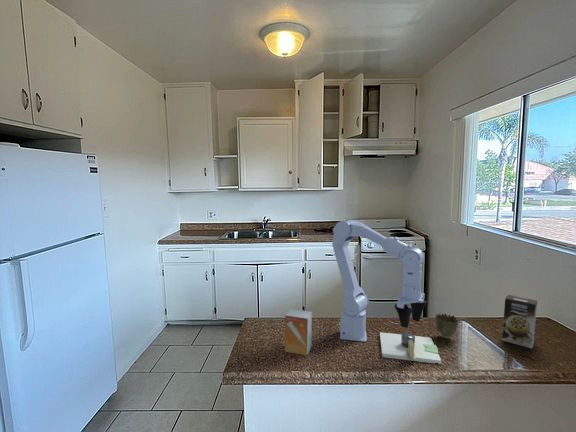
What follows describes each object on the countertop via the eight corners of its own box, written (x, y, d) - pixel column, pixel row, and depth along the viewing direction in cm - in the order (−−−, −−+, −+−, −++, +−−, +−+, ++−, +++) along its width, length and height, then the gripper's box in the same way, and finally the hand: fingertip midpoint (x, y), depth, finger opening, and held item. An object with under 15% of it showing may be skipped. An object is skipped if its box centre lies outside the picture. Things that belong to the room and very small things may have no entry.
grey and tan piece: (400, 340, 112) (400, 329, 112) (413, 342, 111) (414, 331, 111) (404, 356, 101) (404, 344, 101) (419, 358, 100) (419, 346, 100)
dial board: (382, 359, 103) (382, 355, 102) (379, 335, 120) (379, 331, 119) (444, 367, 98) (444, 362, 98) (432, 341, 115) (432, 337, 115)
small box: (284, 352, 107) (284, 315, 106) (289, 343, 113) (290, 308, 112) (307, 356, 104) (308, 318, 103) (311, 347, 110) (312, 311, 109)
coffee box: (501, 340, 116) (504, 298, 114) (504, 334, 120) (507, 293, 119) (532, 349, 109) (535, 304, 108) (534, 342, 114) (537, 299, 113)
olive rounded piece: (459, 343, 113) (460, 322, 113) (437, 341, 115) (438, 320, 114) (453, 334, 121) (454, 314, 120) (432, 332, 122) (433, 312, 122)
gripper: (412, 291, 97) (410, 333, 98) (434, 283, 107) (432, 321, 108) (391, 286, 103) (390, 326, 104) (414, 278, 112) (412, 315, 113)
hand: (410, 323), depth 106 cm, fingers open, 7 cm apart
